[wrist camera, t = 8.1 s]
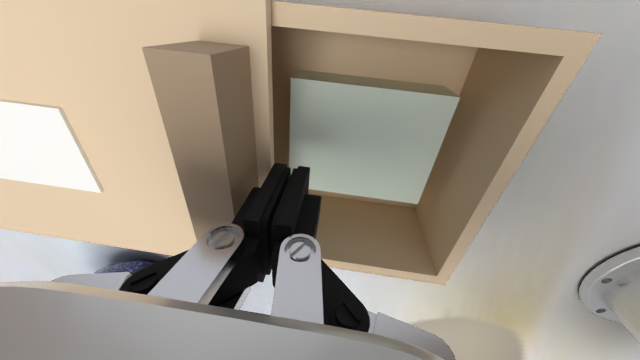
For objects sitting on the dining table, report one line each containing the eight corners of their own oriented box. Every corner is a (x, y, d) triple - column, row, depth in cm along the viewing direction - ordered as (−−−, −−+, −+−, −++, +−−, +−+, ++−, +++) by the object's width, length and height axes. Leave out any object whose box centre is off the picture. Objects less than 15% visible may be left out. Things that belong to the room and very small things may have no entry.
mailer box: (493, 28, 15) (601, 33, 9) (418, 210, 23) (444, 285, 17) (157, -6, 16) (21, -25, 10) (199, 179, 25) (142, 238, 18)
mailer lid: (270, -7, 9) (226, -22, 6) (276, 264, 17) (260, 315, 14) (-267, -60, 10) (-535, -95, 7) (-13, 219, 18) (-84, 257, 15)
